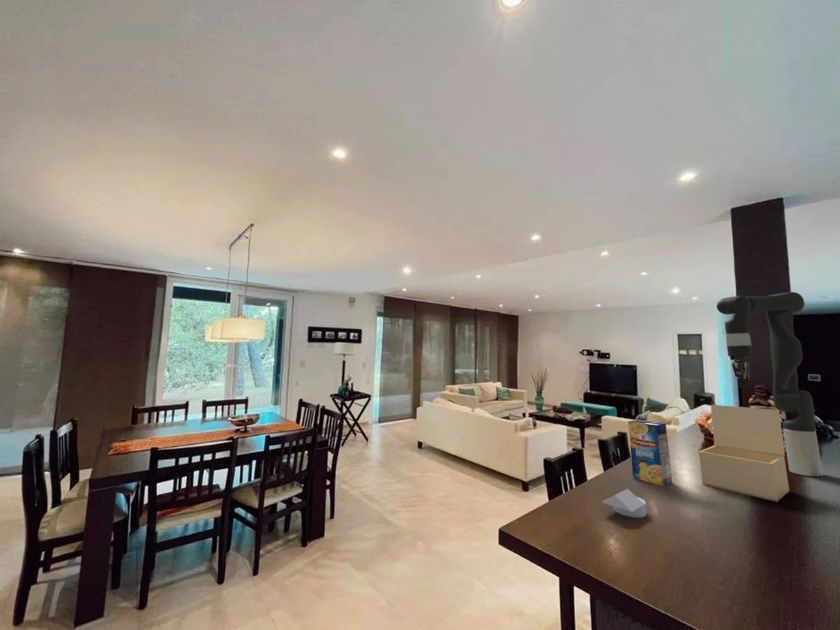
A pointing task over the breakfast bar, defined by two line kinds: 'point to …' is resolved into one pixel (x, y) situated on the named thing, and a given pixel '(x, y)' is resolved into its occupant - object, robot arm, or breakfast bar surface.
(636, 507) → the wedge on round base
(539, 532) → the breakfast bar surface
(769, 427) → the lid flap
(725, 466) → the carton
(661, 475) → the blue cardboard box
